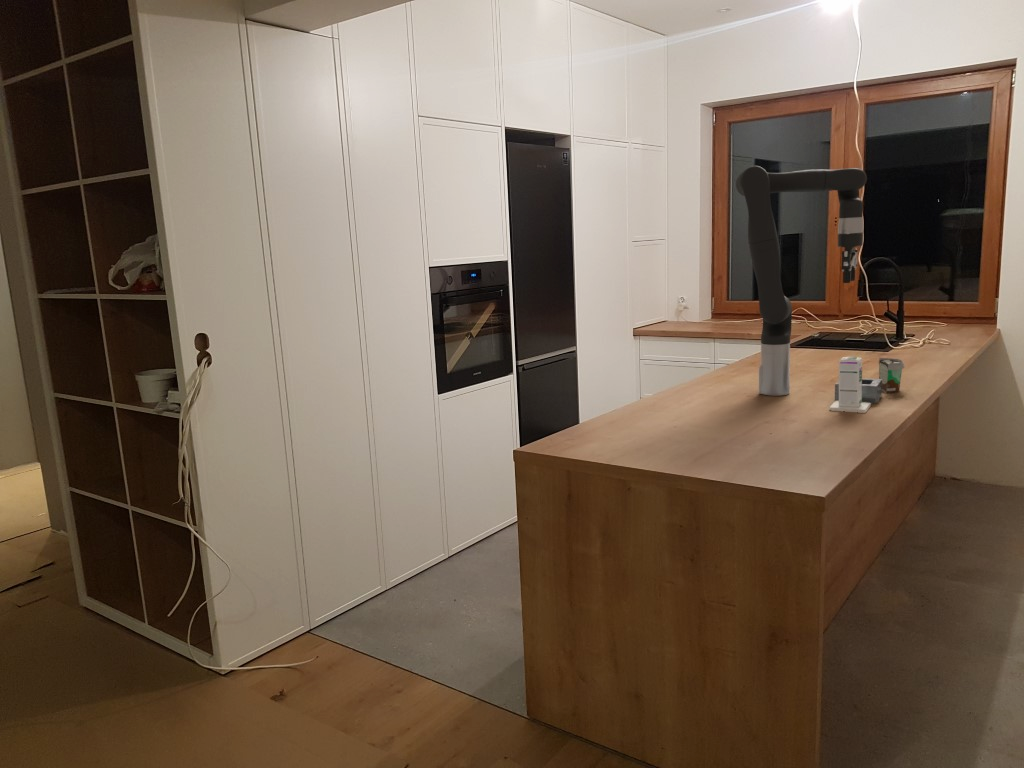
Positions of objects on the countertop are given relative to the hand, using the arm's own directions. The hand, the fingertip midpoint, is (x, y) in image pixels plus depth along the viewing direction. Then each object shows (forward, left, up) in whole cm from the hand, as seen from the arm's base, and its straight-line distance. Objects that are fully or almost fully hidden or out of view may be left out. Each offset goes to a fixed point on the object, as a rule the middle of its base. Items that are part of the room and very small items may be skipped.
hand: (849, 281), depth 252 cm
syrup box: (+6, -29, -35) cm, 46 cm away
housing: (+6, -14, -36) cm, 39 cm away
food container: (+14, +2, -36) cm, 39 cm away
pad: (+6, -28, -36) cm, 46 cm away
